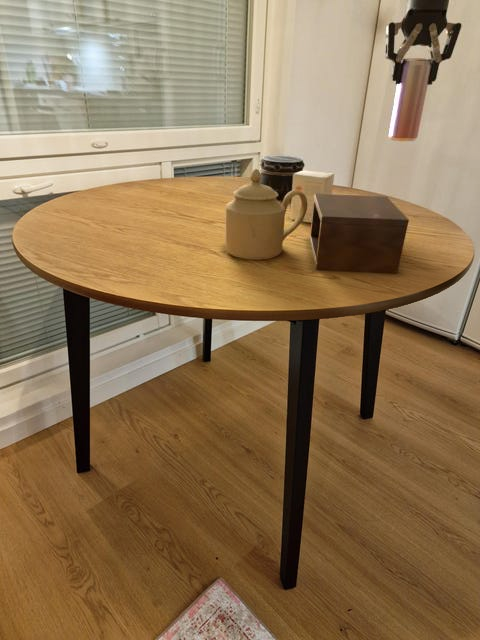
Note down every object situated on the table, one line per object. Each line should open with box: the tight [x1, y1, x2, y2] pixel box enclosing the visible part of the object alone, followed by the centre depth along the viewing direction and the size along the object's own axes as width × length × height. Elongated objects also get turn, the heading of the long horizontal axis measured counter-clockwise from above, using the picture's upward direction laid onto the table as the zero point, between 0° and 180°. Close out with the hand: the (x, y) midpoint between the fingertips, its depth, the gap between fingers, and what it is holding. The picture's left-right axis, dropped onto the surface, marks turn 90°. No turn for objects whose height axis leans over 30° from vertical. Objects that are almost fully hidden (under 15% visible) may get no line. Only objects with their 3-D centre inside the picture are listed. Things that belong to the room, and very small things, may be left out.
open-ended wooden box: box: [309, 194, 410, 274], centre depth 78 cm, size 14×16×9 cm
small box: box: [290, 169, 335, 223], centre depth 98 cm, size 8×6×10 cm
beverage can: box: [388, 57, 432, 142], centre depth 89 cm, size 6×6×15 cm
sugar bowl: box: [224, 168, 307, 261], centre depth 79 cm, size 15×11×15 cm
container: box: [258, 155, 305, 200], centre depth 120 cm, size 13×13×10 cm
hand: (412, 84), depth 87 cm, fingers closed on beverage can, 6 cm apart
